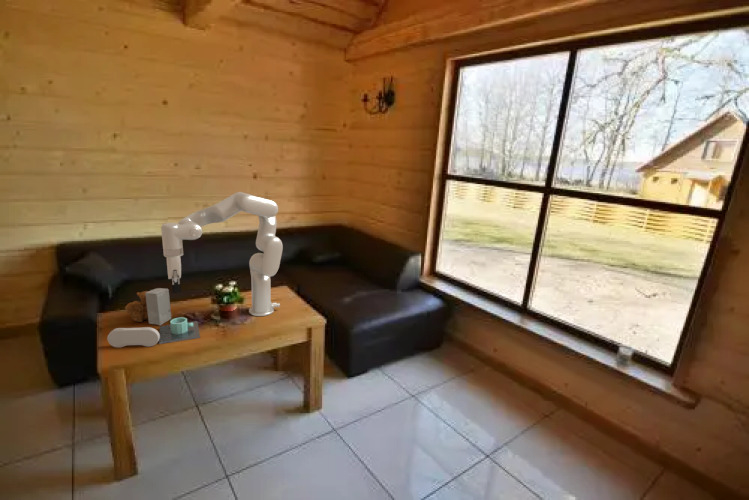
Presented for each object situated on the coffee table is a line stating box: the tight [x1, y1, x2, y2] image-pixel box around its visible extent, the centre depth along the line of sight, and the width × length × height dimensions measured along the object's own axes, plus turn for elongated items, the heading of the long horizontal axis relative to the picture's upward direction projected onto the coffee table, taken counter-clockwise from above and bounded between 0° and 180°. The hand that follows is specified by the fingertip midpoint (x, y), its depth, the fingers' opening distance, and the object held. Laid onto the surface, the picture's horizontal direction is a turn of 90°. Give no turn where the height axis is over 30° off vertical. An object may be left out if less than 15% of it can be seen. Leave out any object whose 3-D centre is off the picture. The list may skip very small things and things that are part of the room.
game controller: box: [106, 326, 160, 348], centre depth 161 cm, size 20×2×8 cm, turn 100°
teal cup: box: [169, 316, 193, 334], centre depth 174 cm, size 7×9×5 cm
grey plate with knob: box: [158, 320, 201, 345], centre depth 174 cm, size 16×16×5 cm
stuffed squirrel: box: [124, 290, 150, 323], centre depth 185 cm, size 10×14×13 cm
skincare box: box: [145, 287, 172, 326], centre depth 182 cm, size 8×7×16 cm
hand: (176, 288), depth 169 cm, fingers open, 9 cm apart
